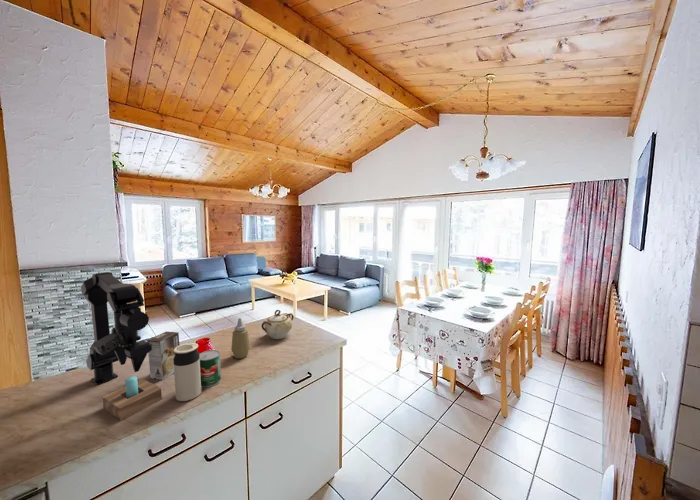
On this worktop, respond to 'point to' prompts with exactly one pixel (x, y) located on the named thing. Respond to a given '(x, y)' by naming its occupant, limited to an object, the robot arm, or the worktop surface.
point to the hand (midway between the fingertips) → (129, 367)
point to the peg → (131, 386)
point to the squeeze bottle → (240, 340)
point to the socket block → (131, 400)
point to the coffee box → (162, 354)
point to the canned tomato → (210, 368)
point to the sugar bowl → (278, 325)
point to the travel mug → (187, 371)
